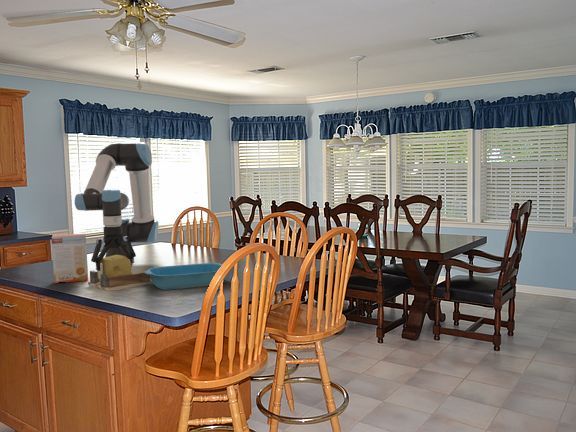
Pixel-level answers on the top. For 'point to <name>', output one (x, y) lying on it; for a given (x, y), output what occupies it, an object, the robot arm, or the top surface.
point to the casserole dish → (183, 275)
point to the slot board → (119, 281)
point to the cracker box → (69, 258)
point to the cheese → (115, 266)
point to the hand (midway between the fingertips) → (114, 275)
